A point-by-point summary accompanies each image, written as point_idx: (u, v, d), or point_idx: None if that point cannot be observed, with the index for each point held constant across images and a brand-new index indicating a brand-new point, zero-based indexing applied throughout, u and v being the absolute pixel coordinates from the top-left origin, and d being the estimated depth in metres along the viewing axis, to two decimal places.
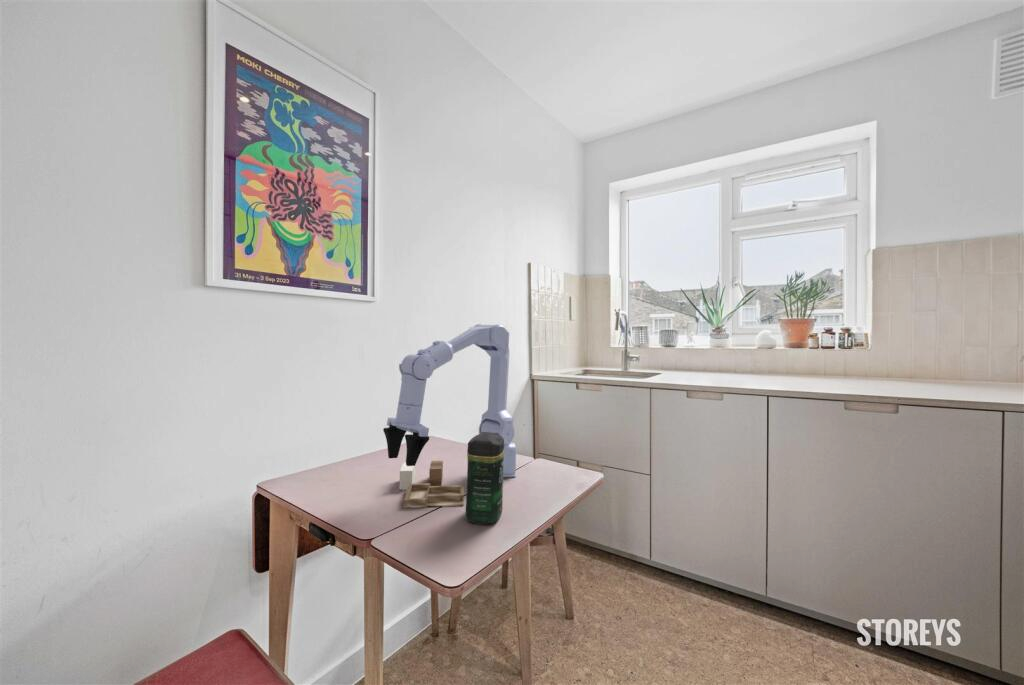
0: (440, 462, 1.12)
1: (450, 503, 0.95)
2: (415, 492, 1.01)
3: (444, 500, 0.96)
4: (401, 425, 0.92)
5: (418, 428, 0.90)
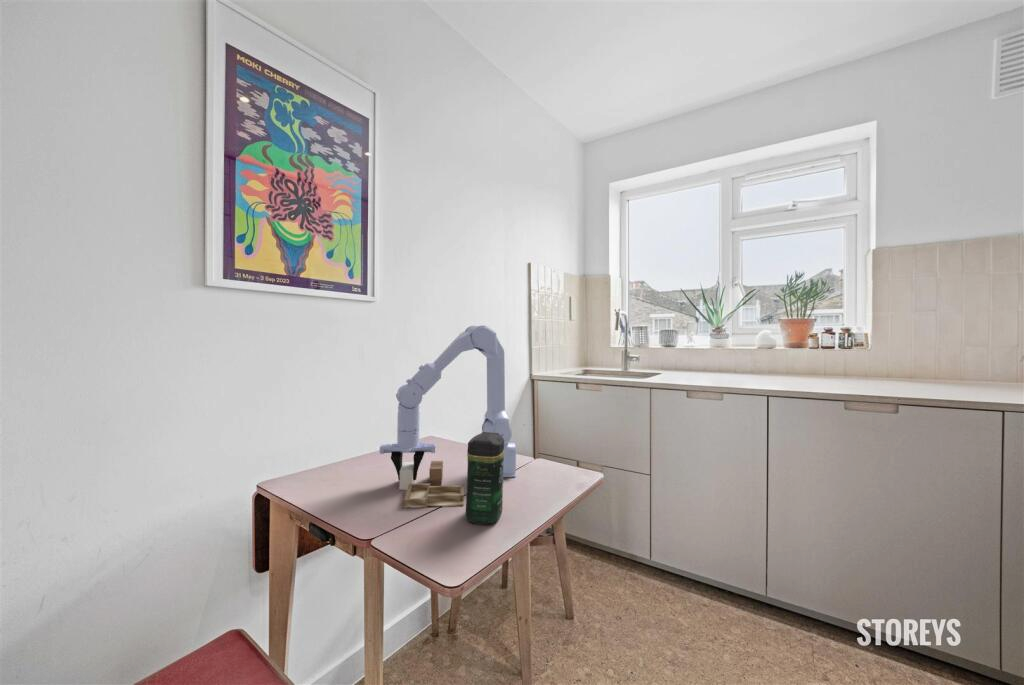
0: (440, 462, 1.12)
1: (450, 503, 0.95)
2: (415, 492, 1.01)
3: (444, 500, 0.96)
4: (412, 449, 1.05)
5: (430, 447, 1.07)
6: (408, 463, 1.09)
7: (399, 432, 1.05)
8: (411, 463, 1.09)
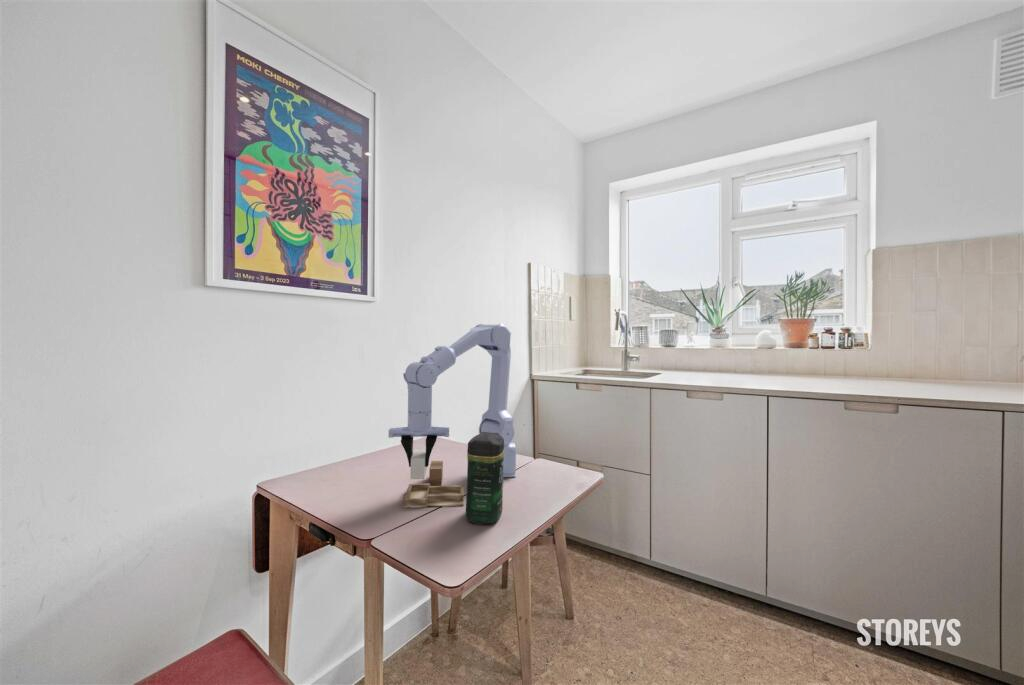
0: (440, 462, 1.12)
1: (450, 503, 0.95)
2: (415, 492, 1.01)
3: (444, 500, 0.96)
4: (425, 432, 0.96)
5: (444, 430, 0.98)
6: (420, 451, 1.00)
7: (410, 414, 0.96)
8: (422, 451, 1.01)
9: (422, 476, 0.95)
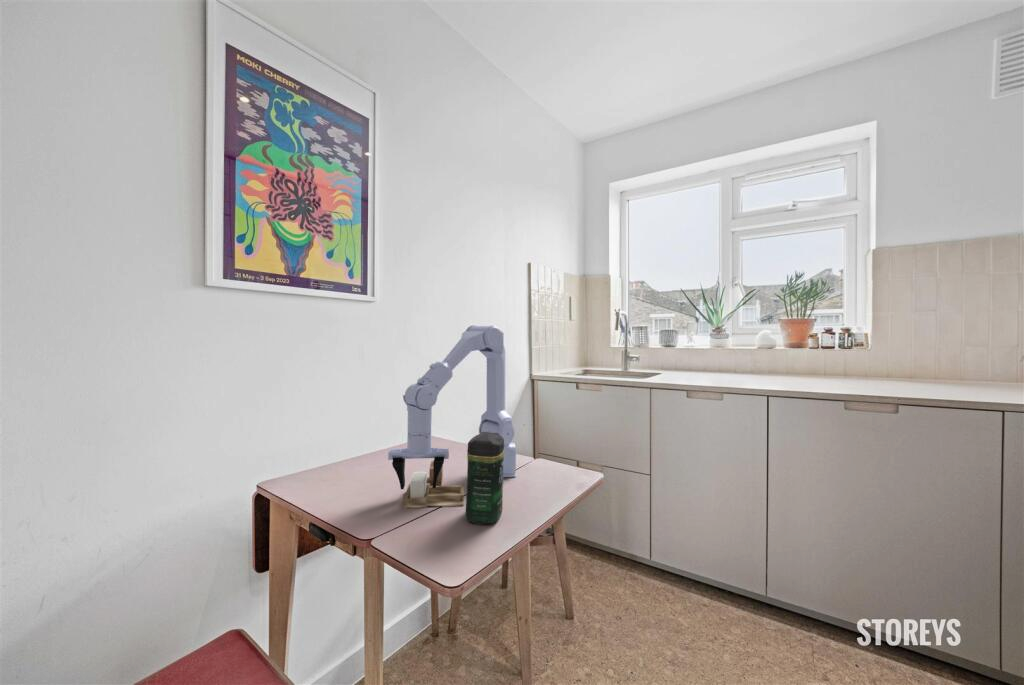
0: None
1: (450, 503, 0.95)
2: None
3: (444, 500, 0.96)
4: (424, 455, 0.96)
5: (443, 452, 0.98)
6: (419, 473, 1.01)
7: (409, 436, 0.96)
8: (422, 473, 1.01)
9: None
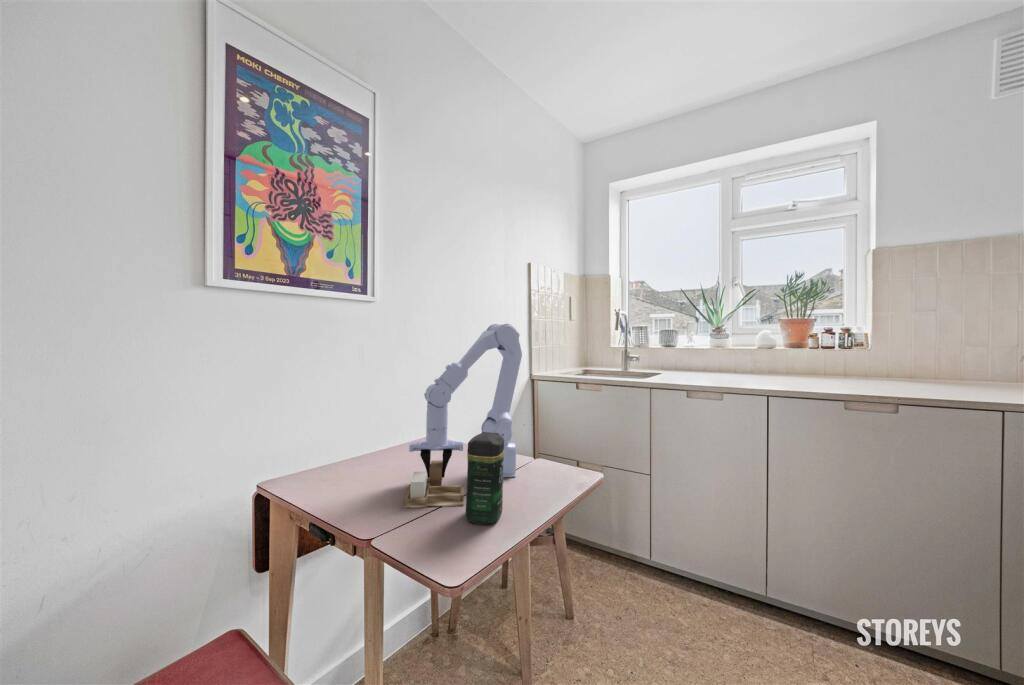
0: (440, 462, 1.12)
1: (450, 503, 0.95)
2: None
3: (444, 500, 0.96)
4: (442, 447, 1.07)
5: (458, 445, 1.09)
6: (419, 473, 1.01)
7: (428, 430, 1.07)
8: (422, 473, 1.01)
9: None
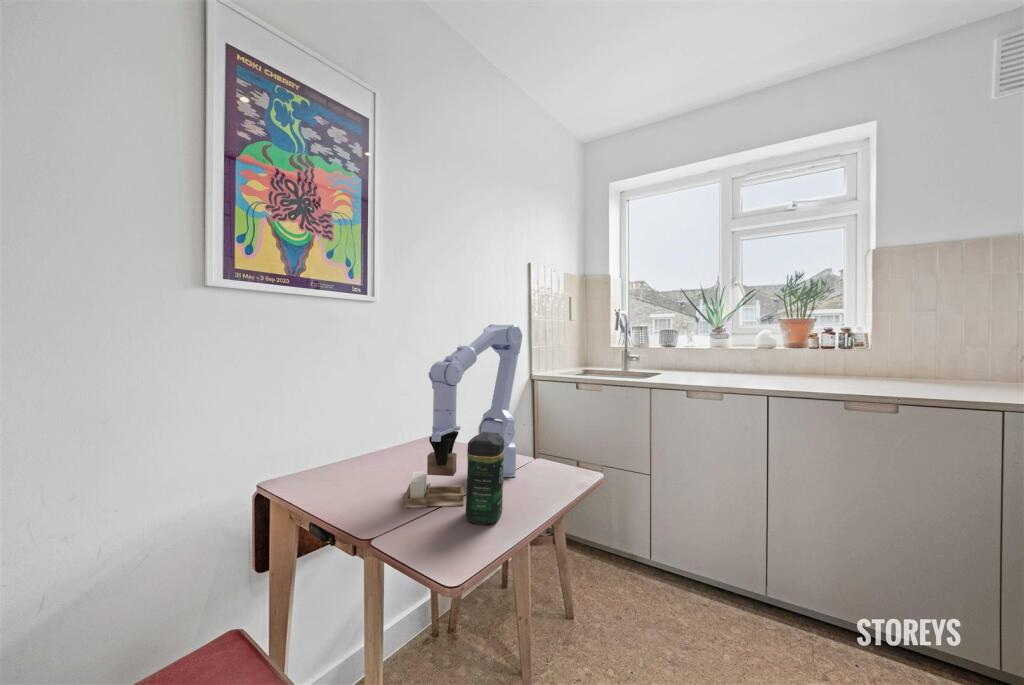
0: None
1: (450, 503, 0.95)
2: None
3: (444, 500, 0.96)
4: None
5: None
6: (419, 473, 1.01)
7: (450, 412, 0.98)
8: (422, 473, 1.01)
9: None
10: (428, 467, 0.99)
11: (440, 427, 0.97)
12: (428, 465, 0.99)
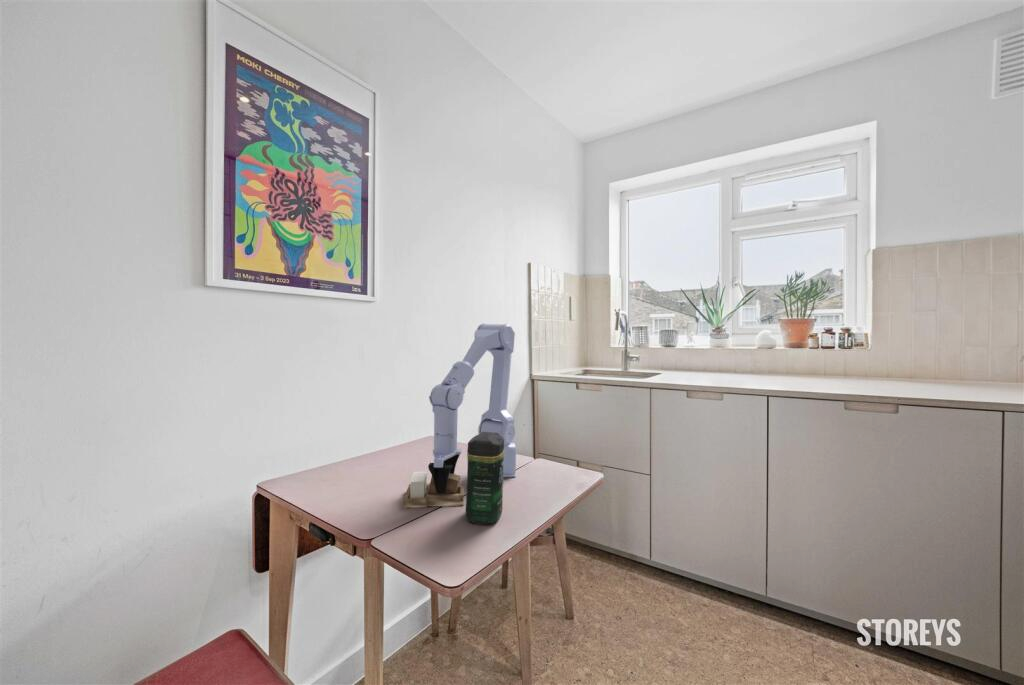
0: None
1: (450, 503, 0.95)
2: None
3: (444, 500, 0.96)
4: None
5: None
6: (419, 473, 1.01)
7: (451, 436, 0.97)
8: (422, 473, 1.01)
9: None
10: (430, 485, 0.98)
11: (441, 451, 0.96)
12: (431, 483, 0.98)
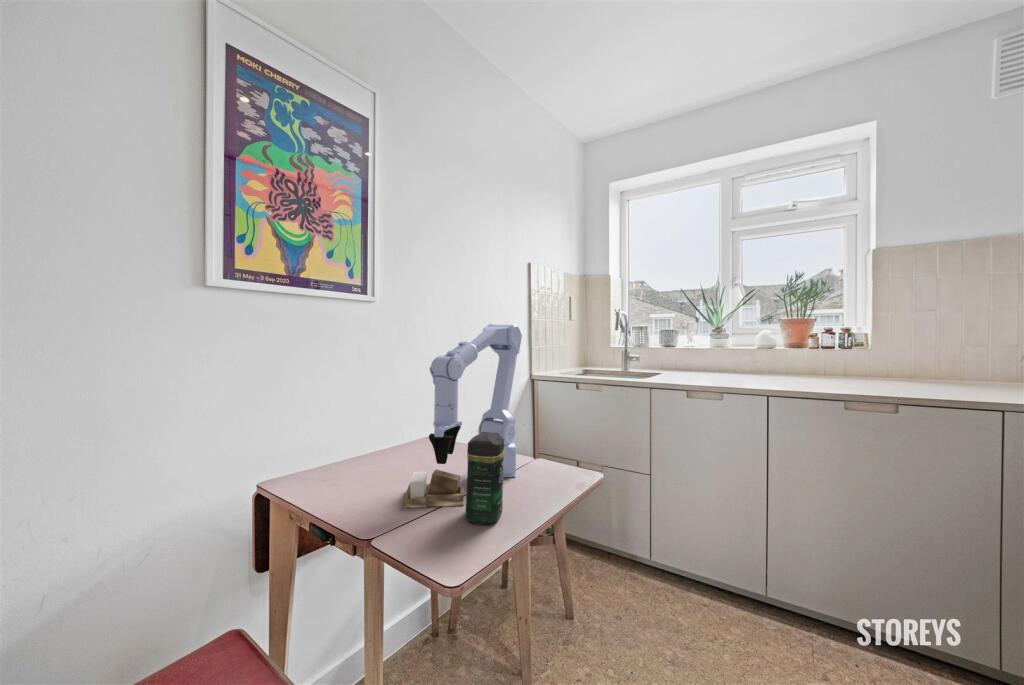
0: (440, 471, 1.00)
1: (450, 503, 0.95)
2: None
3: (444, 500, 0.96)
4: None
5: None
6: (419, 473, 1.01)
7: (452, 407, 0.96)
8: (422, 473, 1.01)
9: None
10: (430, 485, 0.98)
11: (442, 422, 0.96)
12: (431, 483, 0.98)
